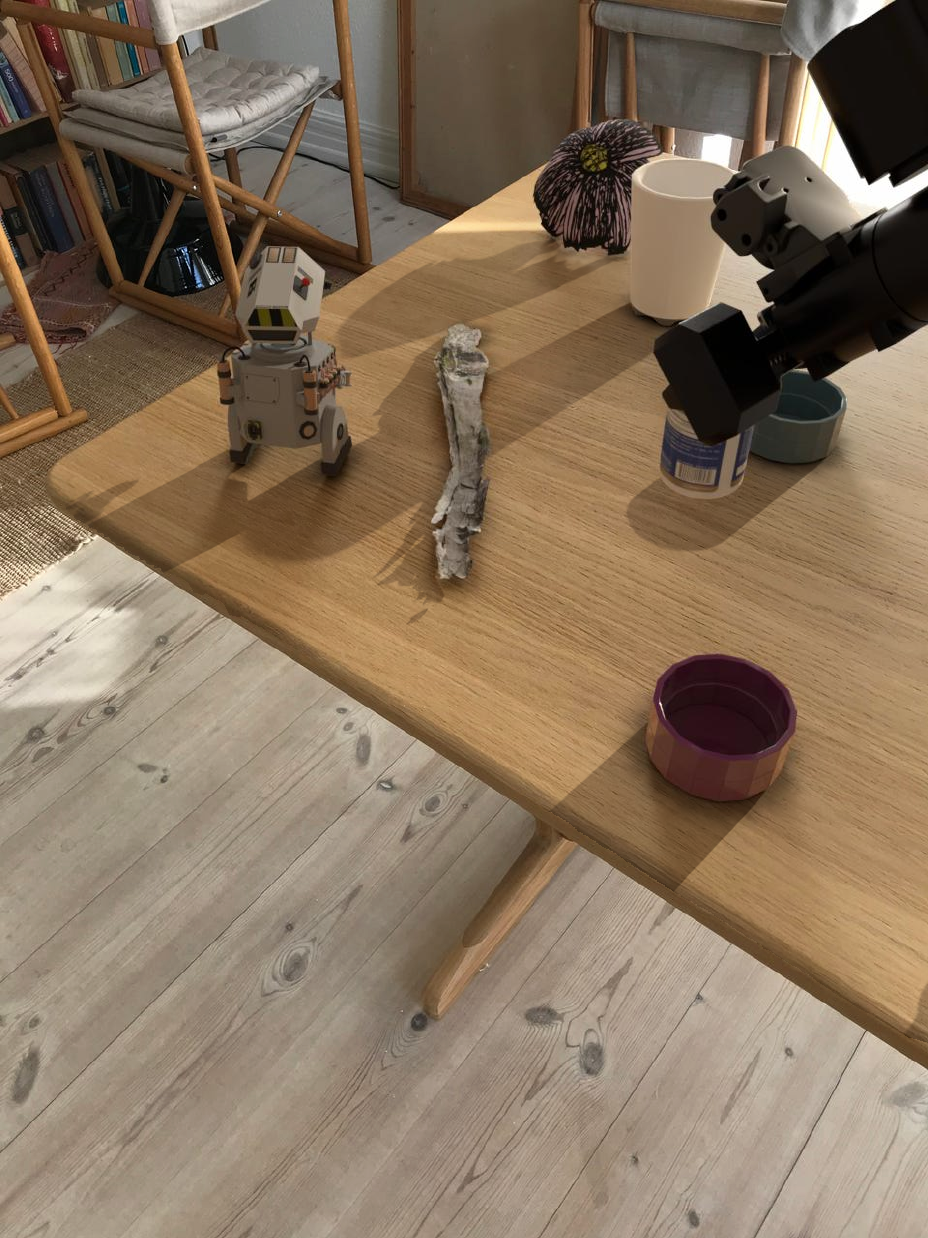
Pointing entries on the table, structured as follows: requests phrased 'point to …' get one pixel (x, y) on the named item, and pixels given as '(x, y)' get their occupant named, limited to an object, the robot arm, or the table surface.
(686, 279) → the cup
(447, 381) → the driftwood
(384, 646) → the table surface
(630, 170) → the decorative flower
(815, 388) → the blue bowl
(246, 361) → the figurine
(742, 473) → the pill bottle
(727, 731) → the plum bowl
